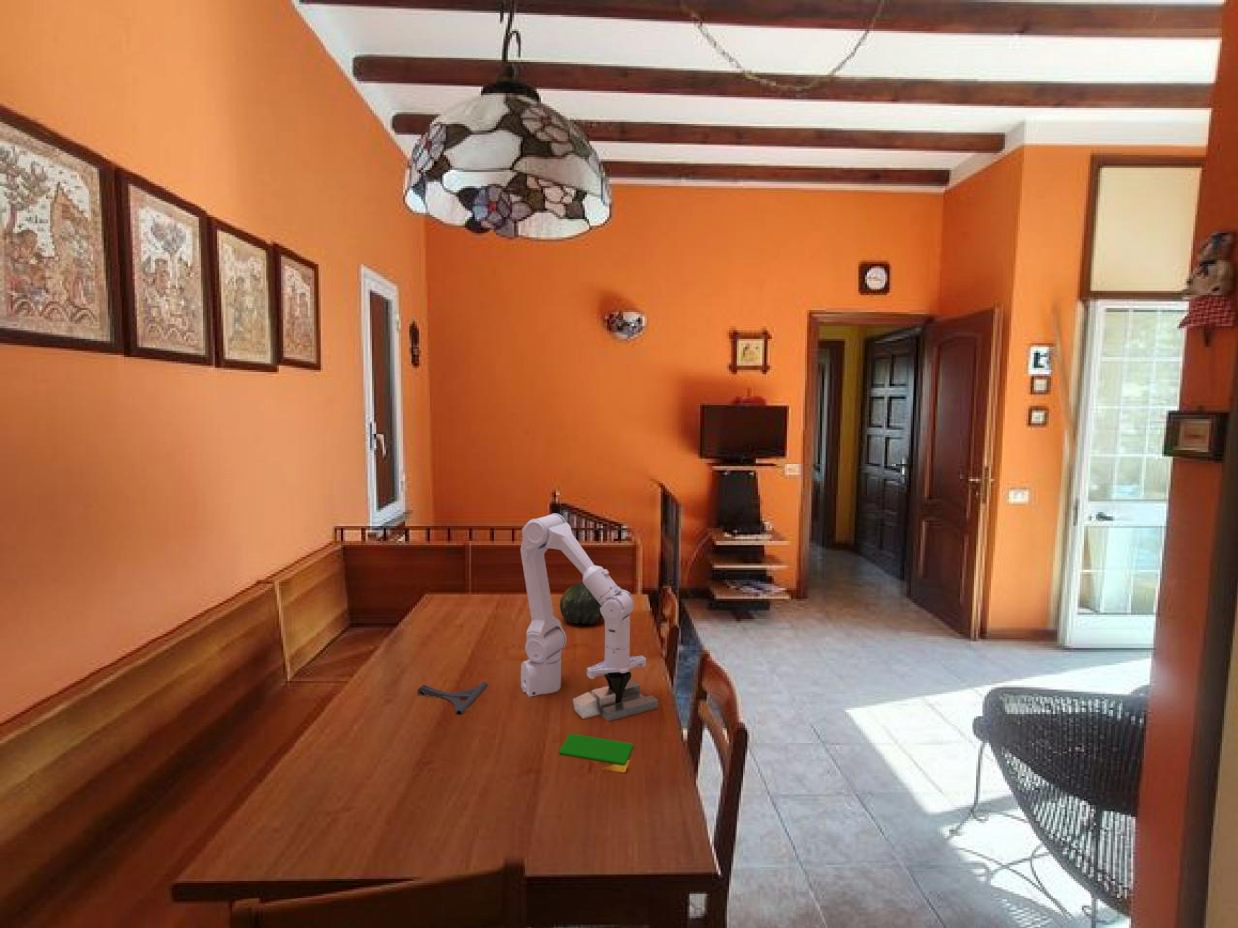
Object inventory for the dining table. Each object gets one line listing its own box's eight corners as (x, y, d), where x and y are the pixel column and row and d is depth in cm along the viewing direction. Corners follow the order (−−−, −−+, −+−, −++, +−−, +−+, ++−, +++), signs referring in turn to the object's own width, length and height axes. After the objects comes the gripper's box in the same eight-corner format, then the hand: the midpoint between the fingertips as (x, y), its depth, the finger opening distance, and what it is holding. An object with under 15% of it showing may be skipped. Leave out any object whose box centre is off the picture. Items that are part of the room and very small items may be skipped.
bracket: (433, 682, 153) (432, 672, 153) (487, 688, 151) (487, 677, 150) (403, 711, 139) (402, 699, 139) (462, 717, 137) (462, 706, 136)
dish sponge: (625, 774, 116) (625, 762, 116) (558, 763, 119) (558, 751, 119) (633, 754, 123) (633, 743, 123) (569, 743, 126) (570, 732, 126)
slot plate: (607, 727, 132) (607, 713, 131) (586, 705, 141) (586, 692, 141) (657, 713, 138) (658, 700, 138) (633, 693, 148) (634, 680, 147)
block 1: (583, 722, 133) (580, 706, 132) (575, 714, 136) (572, 699, 136) (599, 715, 135) (596, 699, 134) (591, 707, 138) (588, 691, 137)
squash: (555, 597, 203) (562, 573, 193) (597, 595, 208) (607, 571, 197) (560, 636, 194) (568, 612, 183) (604, 633, 198) (615, 610, 188)
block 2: (599, 714, 134) (599, 697, 134) (591, 706, 138) (591, 690, 138) (615, 710, 136) (615, 693, 136) (607, 702, 140) (607, 686, 139)
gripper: (596, 657, 130) (596, 716, 132) (653, 645, 137) (652, 701, 139) (583, 645, 137) (582, 702, 138) (637, 634, 144) (636, 688, 145)
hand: (616, 701), depth 139 cm, fingers closed
